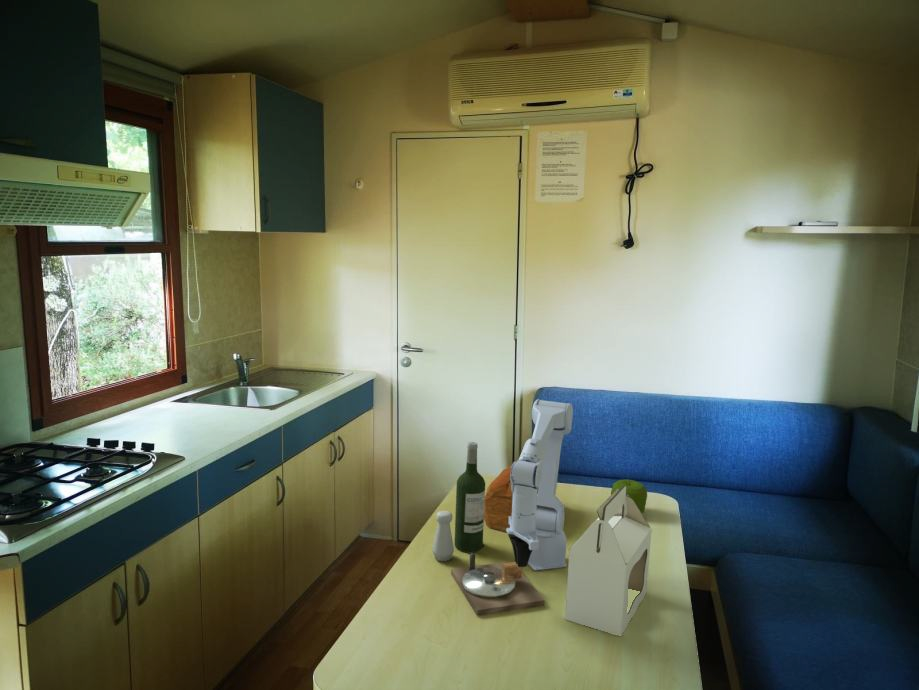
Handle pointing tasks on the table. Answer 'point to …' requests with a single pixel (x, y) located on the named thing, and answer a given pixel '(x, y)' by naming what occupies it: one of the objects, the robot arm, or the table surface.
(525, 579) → the walnut board
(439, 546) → the salt shaker
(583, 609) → the gable box
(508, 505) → the bread
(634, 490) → the apple
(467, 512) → the wine bottle
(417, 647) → the table surface
